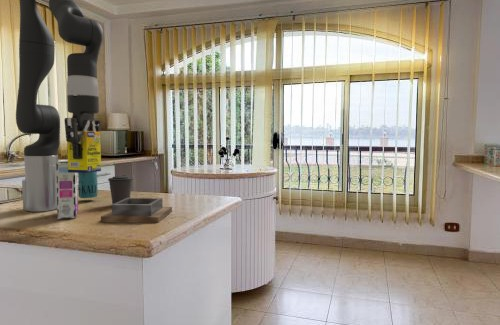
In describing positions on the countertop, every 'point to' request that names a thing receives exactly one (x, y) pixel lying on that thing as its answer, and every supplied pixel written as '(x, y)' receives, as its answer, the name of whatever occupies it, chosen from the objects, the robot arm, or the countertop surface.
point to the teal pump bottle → (87, 185)
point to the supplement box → (86, 154)
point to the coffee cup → (120, 187)
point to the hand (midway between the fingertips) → (84, 157)
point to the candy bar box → (66, 191)
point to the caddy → (137, 210)
